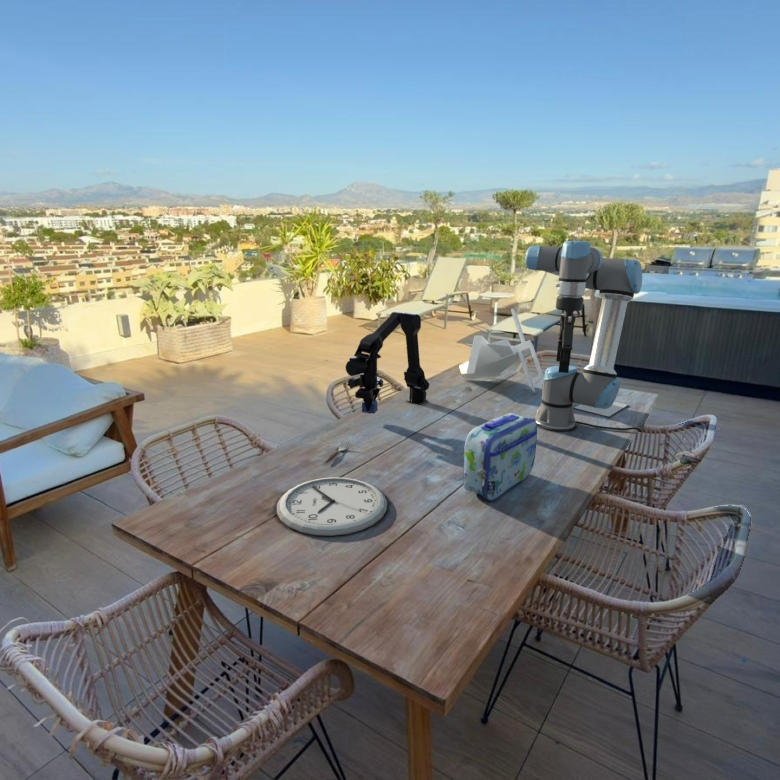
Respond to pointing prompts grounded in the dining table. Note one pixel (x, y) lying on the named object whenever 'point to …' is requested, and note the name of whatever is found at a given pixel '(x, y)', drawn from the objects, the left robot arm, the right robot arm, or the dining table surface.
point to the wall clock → (331, 506)
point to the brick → (372, 409)
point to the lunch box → (499, 455)
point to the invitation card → (606, 412)
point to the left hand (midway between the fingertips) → (369, 408)
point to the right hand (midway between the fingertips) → (561, 366)
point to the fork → (338, 451)
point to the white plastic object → (499, 357)
